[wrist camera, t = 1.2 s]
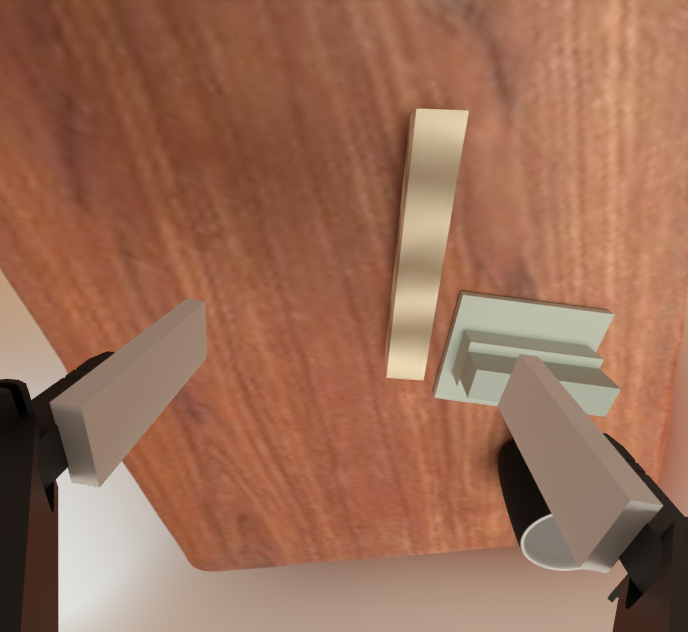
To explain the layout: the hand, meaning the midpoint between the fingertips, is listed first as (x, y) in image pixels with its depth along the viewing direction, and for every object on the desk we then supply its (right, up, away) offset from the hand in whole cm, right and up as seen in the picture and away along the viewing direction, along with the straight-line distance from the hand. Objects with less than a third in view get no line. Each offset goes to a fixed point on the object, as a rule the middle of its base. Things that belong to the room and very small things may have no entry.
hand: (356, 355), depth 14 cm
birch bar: (+6, +8, +17) cm, 20 cm away
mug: (+21, -14, +26) cm, 36 cm away
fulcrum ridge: (+17, -2, +21) cm, 27 cm away
